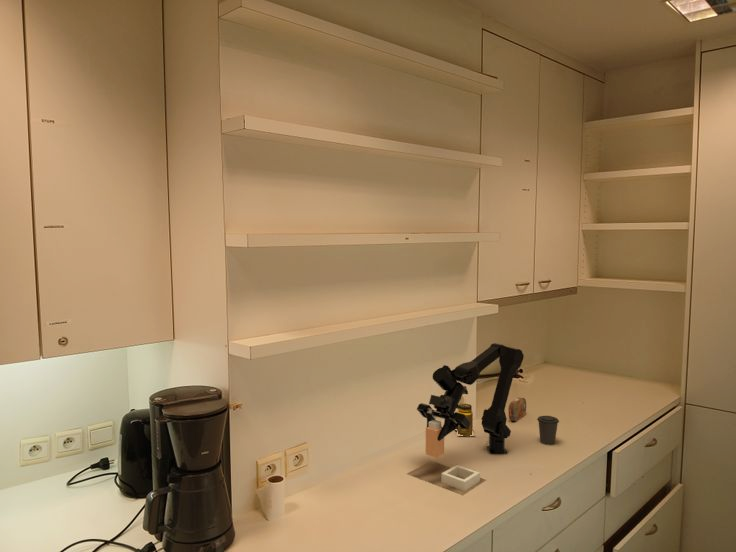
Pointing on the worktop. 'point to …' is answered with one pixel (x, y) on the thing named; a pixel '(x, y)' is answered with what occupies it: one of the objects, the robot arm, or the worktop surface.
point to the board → (438, 476)
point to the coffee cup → (547, 429)
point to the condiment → (468, 413)
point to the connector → (434, 439)
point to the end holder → (462, 484)
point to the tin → (517, 409)
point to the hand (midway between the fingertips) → (432, 438)
